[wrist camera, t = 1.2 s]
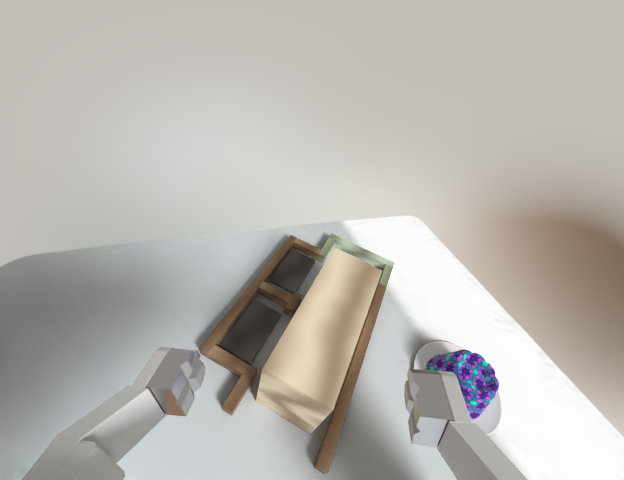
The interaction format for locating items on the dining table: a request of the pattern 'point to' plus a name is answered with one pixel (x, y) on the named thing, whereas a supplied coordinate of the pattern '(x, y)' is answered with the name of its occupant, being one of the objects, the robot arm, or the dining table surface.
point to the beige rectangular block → (319, 343)
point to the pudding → (466, 380)
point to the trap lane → (262, 319)
